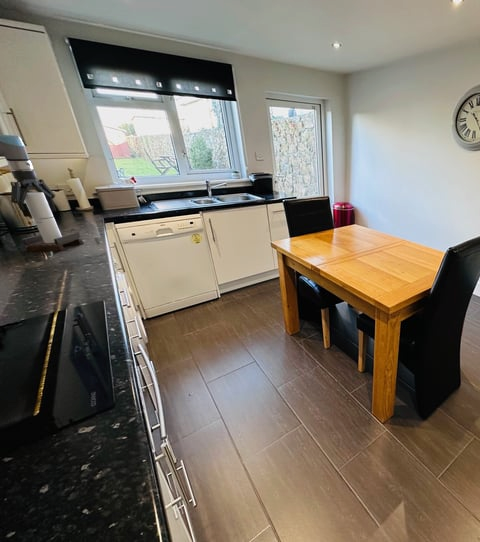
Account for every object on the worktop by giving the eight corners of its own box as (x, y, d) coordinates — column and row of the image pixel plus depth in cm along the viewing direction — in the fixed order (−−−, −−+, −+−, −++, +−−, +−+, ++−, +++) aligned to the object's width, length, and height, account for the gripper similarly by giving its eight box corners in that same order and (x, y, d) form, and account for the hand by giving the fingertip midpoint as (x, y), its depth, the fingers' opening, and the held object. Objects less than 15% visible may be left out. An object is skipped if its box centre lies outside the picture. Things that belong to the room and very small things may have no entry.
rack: (27, 252, 145) (21, 239, 142) (52, 244, 158) (47, 232, 155) (61, 252, 146) (56, 239, 144) (83, 243, 159) (78, 231, 156)
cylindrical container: (61, 241, 150) (40, 193, 140) (42, 243, 146) (20, 194, 136) (64, 238, 155) (45, 191, 145) (46, 240, 151) (25, 192, 141)
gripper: (3, 172, 125) (25, 219, 133) (54, 168, 148) (69, 209, 156) (-16, 171, 124) (7, 219, 133) (38, 168, 147) (55, 208, 155)
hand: (41, 213), depth 144 cm, fingers open, 13 cm apart
